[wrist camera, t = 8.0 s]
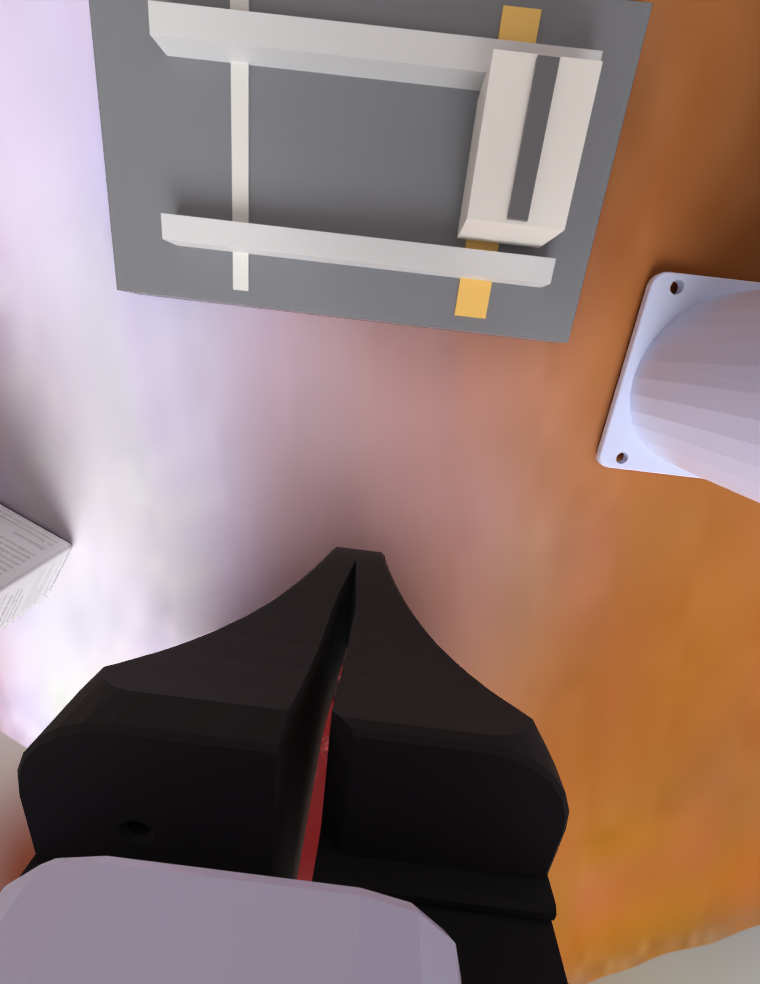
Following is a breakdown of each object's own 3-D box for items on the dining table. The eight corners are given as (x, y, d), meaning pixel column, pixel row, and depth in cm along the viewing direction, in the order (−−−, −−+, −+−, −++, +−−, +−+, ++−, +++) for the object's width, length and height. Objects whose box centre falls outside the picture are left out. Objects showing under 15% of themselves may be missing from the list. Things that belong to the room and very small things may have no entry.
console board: (627, 37, 14) (672, -25, 12) (554, 342, 18) (578, 342, 15) (114, -20, 14) (57, -92, 12) (139, 294, 18) (99, 286, 15)
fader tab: (568, 109, 13) (605, 57, 11) (539, 248, 15) (566, 228, 12) (478, 98, 13) (495, 44, 11) (456, 238, 15) (467, 217, 12)
